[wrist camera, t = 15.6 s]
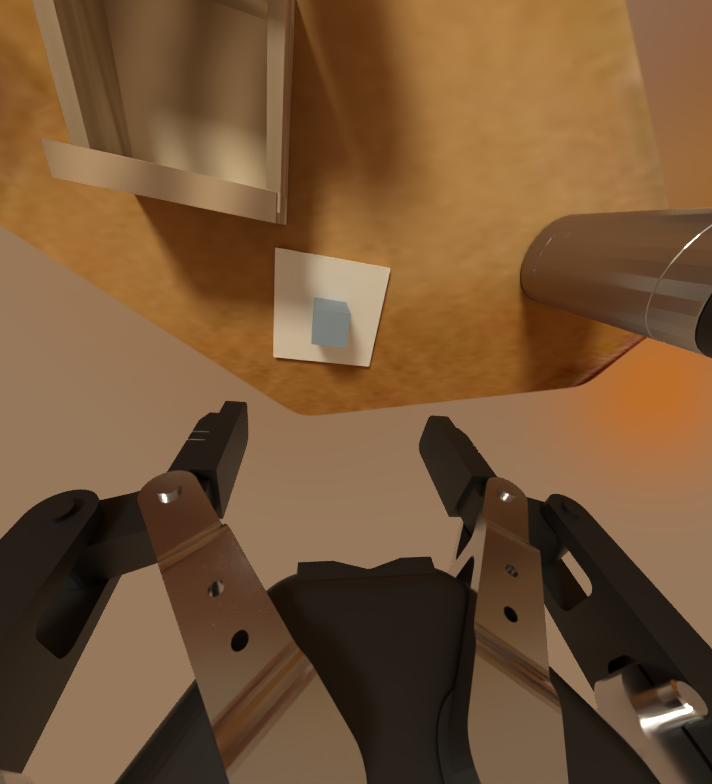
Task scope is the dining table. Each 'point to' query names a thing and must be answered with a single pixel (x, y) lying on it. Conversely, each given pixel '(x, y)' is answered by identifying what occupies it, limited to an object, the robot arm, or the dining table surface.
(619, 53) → the dining table surface
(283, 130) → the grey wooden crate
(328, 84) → the dining table surface
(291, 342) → the cover plate
